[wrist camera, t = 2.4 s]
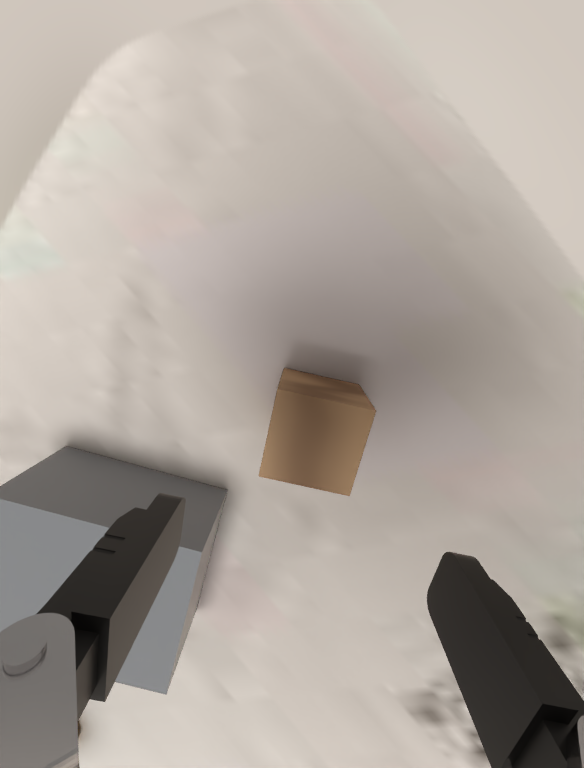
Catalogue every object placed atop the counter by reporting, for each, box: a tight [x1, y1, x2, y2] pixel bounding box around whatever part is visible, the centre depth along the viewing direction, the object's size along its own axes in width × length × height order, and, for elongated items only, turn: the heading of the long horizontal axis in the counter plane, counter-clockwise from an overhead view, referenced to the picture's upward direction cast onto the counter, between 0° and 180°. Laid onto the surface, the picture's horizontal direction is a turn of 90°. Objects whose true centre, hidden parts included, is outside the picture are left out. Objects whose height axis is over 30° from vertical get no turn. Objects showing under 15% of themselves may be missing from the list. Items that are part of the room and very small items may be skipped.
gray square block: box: [0, 446, 228, 694], centre depth 21 cm, size 12×12×6 cm
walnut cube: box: [259, 368, 376, 496], centre depth 18 cm, size 5×5×5 cm
